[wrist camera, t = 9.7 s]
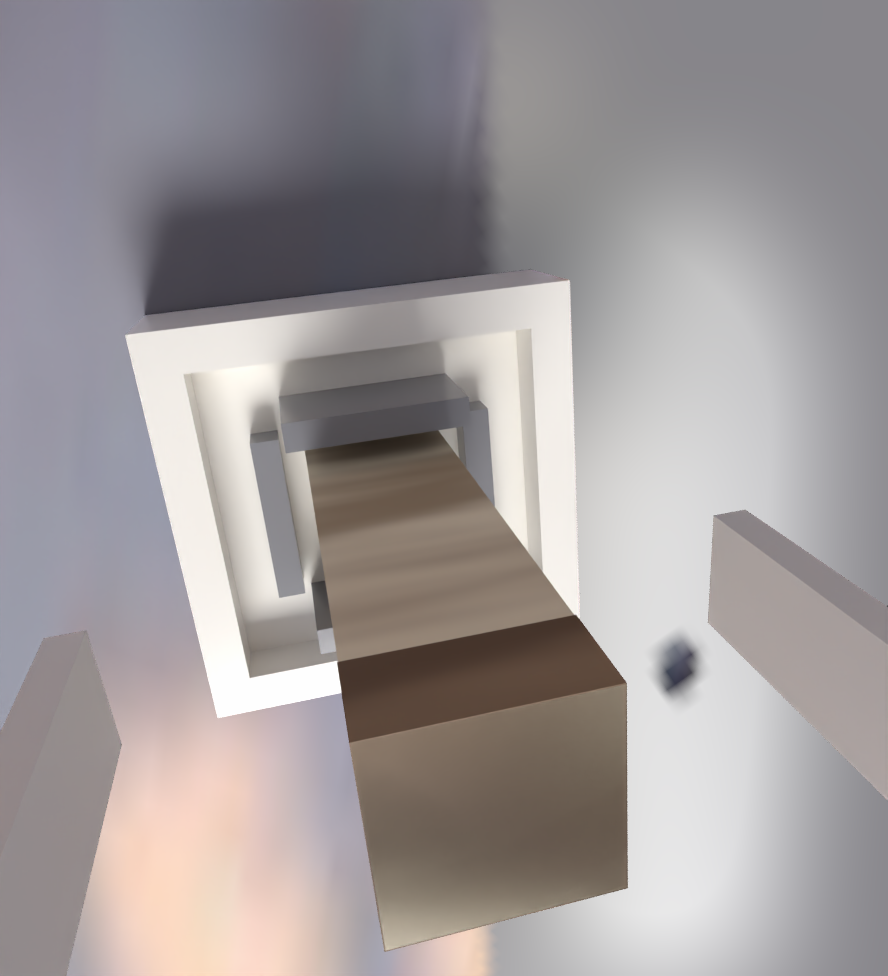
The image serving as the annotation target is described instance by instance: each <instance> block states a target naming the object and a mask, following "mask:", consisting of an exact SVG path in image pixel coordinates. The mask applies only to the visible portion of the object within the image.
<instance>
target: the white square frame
mask: <svg viewBox="0 0 888 976" xmlns="http://www.w3.org/2000/svg"><path fill="white" fill-rule="evenodd" d="M125 337H126V341H127V345H128V349H129V353H130V357H131V361H132V366H133V370H134V374H135V378H136V382H137V386H138V390H139V395H140V399H141V403H142V407H143V411H144V415H145V419H146V423H147V428H148V432H149V436H150V440H151V444H152V448H153V452H154V457H155V461H156V465H157V469H158V473H159V477H160V481H161V486H162V490H163V494H164V498H165V502H166V506H167V510H168V514H169V519H170V523H171V527H172V531H173V535H174V539H175V543H176V548H177V552H178V556H179V560H180V564H181V568H182V572H183V576H184V581H185V585H186V589H187V593H188V597H189V601H190V605H191V610H192V614H193V618H194V622H195V626H196V630H197V634H198V639H199V643H200V647H201V651H202V655H203V659H204V663H205V667H206V672H207V676H208V680H209V684H210V688H211V692H212V696H213V701H214V705H215V709H216V713H217V717H218V718H220V717H225V716H230V715H235V714H240V713H244V712H249V711H254V710H259V709H264V708H269V707H274V706H279V705H284V704H289V703H293V702H298V701H303V700H308V699H313V698H318V697H323V696H328V695H333V694H337V693H341V686H340V680H339V673H338V667H337V662H338V659H337V652H336V646H335V640H334V633H333V627H332V621H331V614H330V608H329V602H328V595H327V589H326V583H325V576H324V570H323V563H322V557H321V551H320V544H319V538H318V532H317V525H316V519H315V513H314V506H313V500H312V494H311V487H310V481H309V475H308V468H307V462H306V456H305V450H312V449H318V448H325V447H331V446H338V445H345V444H351V443H358V442H364V441H371V440H378V439H384V438H391V437H397V436H404V435H411V434H417V433H424V432H430V431H437V430H439V432H440V433H441V435H442V436H443V437H444V439H445V440H446V441H447V443H448V444H449V445H450V447H451V448H452V449H453V451H454V452H455V454H456V455H457V456H458V458H459V459H460V460H461V462H462V463H463V464H464V466H465V467H466V468H467V470H468V471H469V473H470V474H471V475H472V477H473V478H474V479H475V481H476V482H477V483H478V485H479V486H480V488H481V489H482V490H483V492H484V493H485V494H486V496H487V497H488V498H489V500H490V501H491V502H492V504H493V505H494V507H495V508H496V509H497V511H498V512H499V513H500V515H501V516H502V517H503V519H504V520H505V521H506V523H507V524H508V526H509V527H510V528H511V530H512V531H513V532H514V534H515V535H516V536H517V538H518V539H519V541H520V542H521V543H522V545H523V546H524V547H525V549H526V550H527V551H528V553H529V554H530V555H531V557H532V558H533V560H534V561H535V562H536V564H537V565H538V566H539V568H540V569H541V570H542V572H543V573H544V574H545V576H546V577H547V579H548V580H549V581H550V583H551V584H552V585H553V587H554V588H555V589H556V591H557V592H558V594H559V595H560V596H561V598H562V599H563V600H564V602H565V603H566V604H567V606H568V607H569V608H570V610H571V611H572V613H573V614H574V615H577V617H578V618H579V619H580V613H579V612H580V609H579V576H578V544H577V543H578V542H577V507H576V474H575V440H574V405H573V373H572V372H573V371H572V336H571V302H570V280H567V279H563V278H560V277H557V276H553V275H549V274H546V273H542V272H539V271H536V270H532V269H528V270H520V271H511V272H503V273H495V274H486V275H478V276H470V277H461V278H453V279H444V280H436V281H428V282H419V283H411V284H403V285H394V286H386V287H377V288H369V289H361V290H352V291H344V292H336V293H327V294H319V295H310V296H302V297H294V298H285V299H277V300H269V301H260V302H252V303H243V304H235V305H227V306H218V307H210V308H202V309H193V310H185V311H176V312H168V313H160V314H151V315H144V316H143V317H142V318H141V319H140V320H139V321H138V322H137V323H136V324H135V325H134V326H133V327H132V328H131V329H130V330H129V331H128V332H127V333H126V334H125Z"/></svg>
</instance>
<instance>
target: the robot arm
mask: <svg viewBox="0 0 888 976" xmlns="http://www.w3.org/2000/svg"><path fill="white" fill-rule="evenodd" d="M708 623H709V624H710V625H711V626H712V627H713V628H714V629H715V630H716V631H717V632H718V633H719V634H720V635H721V636H722V637H723V638H724V639H725V640H726V641H727V642H728V643H729V644H730V645H731V646H732V647H733V648H734V649H735V650H736V651H737V652H738V653H739V654H740V655H741V656H742V657H743V658H744V659H745V660H746V661H747V662H749V664H750V665H751V666H752V667H753V668H755V670H757V671H758V672H759V673H760V674H761V675H762V676H763V677H764V678H765V679H766V680H767V681H768V682H769V683H770V684H771V685H772V686H773V687H774V688H775V689H776V690H777V691H778V692H779V693H780V694H781V695H782V696H783V697H784V698H785V699H786V700H787V701H788V702H789V703H790V704H791V705H792V706H793V707H794V708H795V709H796V710H797V711H798V712H799V713H800V714H801V715H802V716H803V717H804V718H805V719H806V720H807V721H808V722H809V723H810V724H811V725H812V726H813V727H814V728H815V729H816V730H817V731H818V732H819V733H820V734H821V735H822V736H823V737H824V738H825V739H826V740H827V741H828V742H829V743H830V744H831V745H832V746H833V747H834V748H835V749H836V750H837V751H838V752H839V753H841V755H842V756H843V757H844V758H845V759H846V760H847V761H849V763H850V764H852V765H853V766H854V768H855V769H857V770H858V771H859V772H860V773H861V774H862V775H863V776H864V777H865V778H866V779H867V780H868V781H869V782H870V783H871V784H872V785H873V786H874V787H875V788H876V789H877V790H878V791H879V792H880V793H881V794H882V795H883V796H884V797H885V798H886V799H887V800H888V606H885V605H884V604H883V603H881V602H880V601H878V600H877V599H875V598H874V597H872V596H871V595H869V594H868V593H866V592H865V591H863V590H862V589H861V588H859V587H857V586H856V585H855V584H853V583H852V582H850V581H849V580H847V579H846V578H845V577H843V576H842V575H840V574H839V573H837V572H836V571H834V570H833V569H831V568H829V567H828V566H827V565H825V564H824V563H823V562H821V561H819V560H818V559H816V558H815V557H814V556H812V555H811V554H809V553H808V552H806V551H805V550H804V549H802V548H801V547H799V546H798V545H796V544H795V543H793V542H792V541H790V540H789V539H787V538H786V537H785V536H783V535H782V534H780V533H779V532H777V531H776V530H774V529H773V528H771V527H770V526H768V525H767V524H765V523H764V522H762V521H761V520H760V519H758V518H757V517H755V516H754V515H752V514H751V513H749V512H748V511H746V510H742V511H736V512H730V513H725V514H720V515H714V519H713V538H712V557H711V575H710V594H709V612H708ZM121 745H122V744H121V741H120V738H119V734H118V731H117V728H116V725H115V721H114V718H113V715H112V712H111V709H110V705H109V702H108V699H107V696H106V693H105V689H104V686H103V683H102V680H101V676H100V673H99V670H98V667H97V664H96V660H95V657H94V654H93V651H92V648H91V644H90V641H89V638H88V635H87V631H81V632H75V633H70V634H64V635H59V636H53V637H48V638H44V639H43V641H42V643H41V645H40V648H39V650H38V652H37V654H36V656H35V658H34V661H33V663H32V665H31V667H30V669H29V671H28V673H27V676H26V678H25V680H24V682H23V684H22V686H21V689H20V691H19V693H18V695H17V697H16V699H15V702H14V704H13V706H12V708H11V710H10V712H9V715H8V717H7V719H6V721H5V723H4V725H3V727H2V730H1V732H0V976H66V975H67V971H68V966H69V962H70V958H71V954H72V950H73V946H74V941H75V937H76V933H77V929H78V925H79V921H80V916H81V912H82V908H83V904H84V900H85V895H86V891H87V887H88V883H89V879H90V875H91V870H92V866H93V862H94V858H95V854H96V850H97V845H98V841H99V837H100V833H101V829H102V824H103V820H104V816H105V812H106V808H107V804H108V799H109V795H110V791H111V787H112V783H113V778H114V774H115V770H116V766H117V762H118V758H119V753H120V749H121Z"/></svg>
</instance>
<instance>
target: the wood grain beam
mask: <svg viewBox="0 0 888 976" xmlns="http://www.w3.org/2000/svg"><path fill="white" fill-rule="evenodd" d="M305 456H306V462H307V468H308V475H309V481H310V487H311V494H312V500H313V506H314V513H315V519H316V525H317V532H318V538H319V544H320V551H321V557H322V563H323V570H324V576H325V583H326V589H327V595H328V602H329V608H330V614H331V621H332V627H333V633H334V640H335V646H336V652H337V659H338V662H337V667H338V673H339V680H340V686H341V693H342V699H343V706H344V712H345V719H346V725H347V732H348V738H349V744H350V750H351V756H352V762H353V768H354V774H355V780H356V786H357V792H358V798H359V803H360V809H361V815H362V821H363V827H364V833H365V839H366V845H367V851H368V857H369V863H370V869H371V875H372V880H373V886H374V892H375V898H376V904H377V910H378V916H379V922H380V928H381V934H382V940H383V946H384V951H385V952H386V951H390V950H394V949H397V948H401V947H405V946H409V945H413V944H417V943H420V942H424V941H428V940H432V939H436V938H439V937H443V936H447V935H451V934H455V933H458V932H462V931H466V930H470V929H474V928H478V927H481V926H485V925H489V924H493V923H497V922H500V921H504V920H508V919H512V918H516V917H519V916H523V915H527V914H531V913H535V912H538V911H542V910H546V909H550V908H554V907H558V906H561V905H565V904H569V903H572V902H576V901H580V900H584V899H588V898H592V897H595V896H599V895H603V894H607V893H611V892H615V891H619V890H622V889H626V888H628V872H627V871H628V868H627V867H628V866H627V865H628V864H627V863H628V859H627V858H628V856H627V683H626V681H625V680H624V679H623V677H622V676H621V675H620V673H619V672H618V671H617V669H616V668H615V667H614V665H613V664H612V663H611V661H610V660H609V658H608V657H607V656H606V654H605V653H604V652H603V650H602V649H601V648H600V646H599V645H598V644H597V642H596V641H595V640H594V638H593V637H592V636H591V634H590V633H589V632H588V630H587V629H586V628H585V626H584V625H583V623H582V622H581V621H580V619H579V618H578V617H577V615H574V614H573V613H572V611H571V610H570V608H569V607H568V606H567V604H566V603H565V602H564V600H563V599H562V598H561V596H560V595H559V594H558V592H557V591H556V589H555V588H554V587H553V585H552V584H551V583H550V581H549V580H548V579H547V577H546V576H545V574H544V573H543V572H542V570H541V569H540V568H539V566H538V565H537V564H536V562H535V561H534V560H533V558H532V557H531V555H530V554H529V553H528V551H527V550H526V549H525V547H524V546H523V545H522V543H521V542H520V541H519V539H518V538H517V536H516V535H515V534H514V532H513V531H512V530H511V528H510V527H509V526H508V524H507V523H506V521H505V520H504V519H503V517H502V516H501V515H500V513H499V512H498V511H497V509H496V508H495V507H494V505H493V504H492V502H491V501H490V500H489V498H488V497H487V496H486V494H485V493H484V492H483V490H482V489H481V488H480V486H479V485H478V483H477V482H476V481H475V479H474V478H473V477H472V475H471V474H470V473H469V471H468V470H467V468H466V467H465V466H464V464H463V463H462V462H461V460H460V459H459V458H458V456H457V455H456V454H455V452H454V451H453V449H452V448H451V447H450V445H449V444H448V443H447V441H446V440H445V439H444V437H443V436H442V435H441V433H440V432H439V430H437V431H430V432H424V433H417V434H411V435H404V436H397V437H391V438H384V439H378V440H371V441H364V442H358V443H351V444H345V445H338V446H331V447H325V448H318V449H312V450H305Z"/></svg>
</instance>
